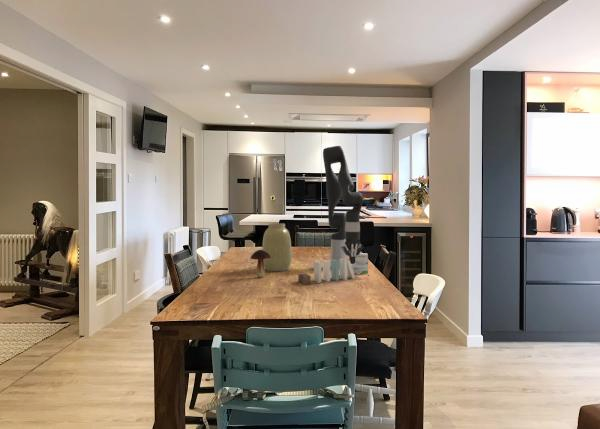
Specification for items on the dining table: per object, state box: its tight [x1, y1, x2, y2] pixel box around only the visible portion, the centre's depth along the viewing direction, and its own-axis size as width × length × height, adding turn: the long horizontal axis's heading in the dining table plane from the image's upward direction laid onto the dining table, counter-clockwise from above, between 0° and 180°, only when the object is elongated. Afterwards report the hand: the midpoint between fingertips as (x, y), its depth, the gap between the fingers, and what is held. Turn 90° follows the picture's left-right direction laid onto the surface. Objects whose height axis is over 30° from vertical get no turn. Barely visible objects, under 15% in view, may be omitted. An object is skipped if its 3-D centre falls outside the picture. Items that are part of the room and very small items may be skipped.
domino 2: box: [322, 259, 331, 282], centre depth 226 cm, size 5×2×10 cm, turn 25°
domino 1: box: [313, 260, 322, 282], centre depth 224 cm, size 5×2×10 cm, turn 25°
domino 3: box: [330, 259, 340, 281], centre depth 228 cm, size 5×2×10 cm, turn 25°
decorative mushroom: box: [250, 249, 271, 279], centre depth 238 cm, size 11×11×15 cm
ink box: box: [351, 252, 369, 275], centre depth 247 cm, size 9×5×12 cm, turn 84°
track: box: [293, 272, 363, 286], centre depth 227 cm, size 10×35×5 cm, turn 115°
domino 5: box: [344, 258, 356, 279], centre depth 231 cm, size 5×2×10 cm, turn 25°
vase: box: [261, 222, 292, 272], centre depth 262 cm, size 17×17×27 cm
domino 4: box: [339, 259, 348, 280], centre depth 230 cm, size 5×2×10 cm, turn 25°
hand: (352, 263), depth 232 cm, fingers closed
